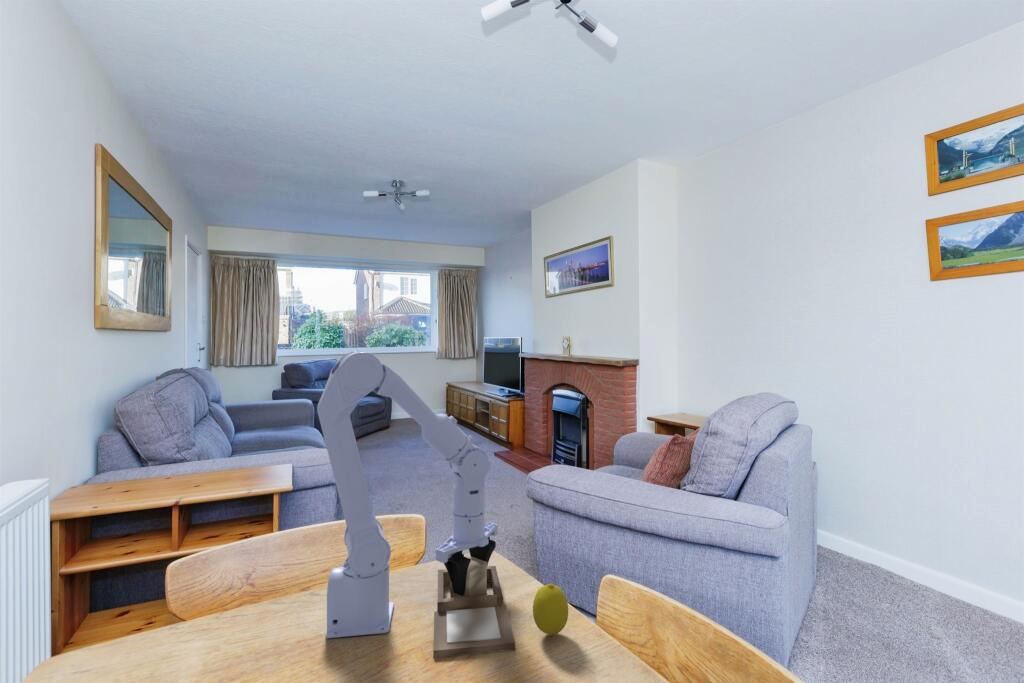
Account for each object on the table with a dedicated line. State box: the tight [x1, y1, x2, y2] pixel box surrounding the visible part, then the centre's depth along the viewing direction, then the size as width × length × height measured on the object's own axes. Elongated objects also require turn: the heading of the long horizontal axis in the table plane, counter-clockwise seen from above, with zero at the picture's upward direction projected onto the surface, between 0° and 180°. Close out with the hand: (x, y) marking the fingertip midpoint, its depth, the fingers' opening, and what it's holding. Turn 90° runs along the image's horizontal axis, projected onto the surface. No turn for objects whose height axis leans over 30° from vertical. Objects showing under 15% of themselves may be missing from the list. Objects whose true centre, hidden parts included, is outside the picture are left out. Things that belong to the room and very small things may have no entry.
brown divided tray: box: [432, 565, 516, 658], centre depth 78 cm, size 12×21×2 cm, turn 9°
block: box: [449, 554, 488, 598], centre depth 83 cm, size 5×5×6 cm
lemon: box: [532, 583, 569, 637], centre depth 72 cm, size 6×6×8 cm
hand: (468, 587), depth 83 cm, fingers closed on block, 5 cm apart
